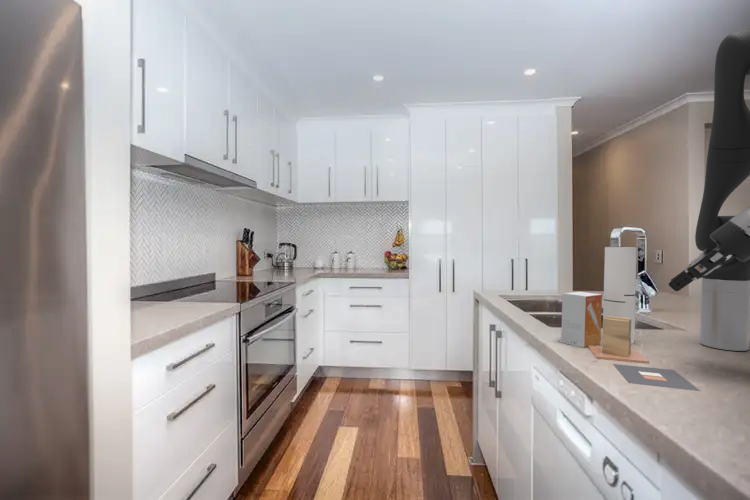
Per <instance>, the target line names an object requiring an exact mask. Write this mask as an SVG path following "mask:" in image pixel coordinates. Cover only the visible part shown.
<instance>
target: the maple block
mask: <svg viewBox="0 0 750 500" xmlns="http://www.w3.org/2000/svg"><path fill="white" fill-rule="evenodd" d="M601 340H602V341H601V342H602V345H601V346H602V353H605V354H611V355H617V356H623V357H628V356H629V354H630V353H631V349H632V348H631V347H632V344H631V318H624V317H615V316H606V317H604V318H603V317H602V339H601Z"/></svg>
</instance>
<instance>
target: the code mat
mask: <svg viewBox="0 0 750 500" xmlns="http://www.w3.org/2000/svg"><path fill="white" fill-rule="evenodd" d="M612 365H613V366H614V368H615V369H616V370H617V371H618V372H619V374H620V375H621V376H622V377H623V378H624V379H625V381H626V382H627V383H628V384H632V385H643V386H644V385H645V386H652V387H659V388H669V389H677V390H678V389H679V390H680V389H681V390H686V391H687V390H689V391H696V392H701V389H699V388H698V387H696V386H695V385H694V384H692V383H691V382H690V381H689V380H688V379H687V378H685V377H684V376H682V375H681V374H680V373H679V372H678V371H676V370H674V369H668V368H659V367H658V368H657V367H647V366H638V365H637V366H636V365H629V364H628V365H627V364H617V363H612Z"/></svg>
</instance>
